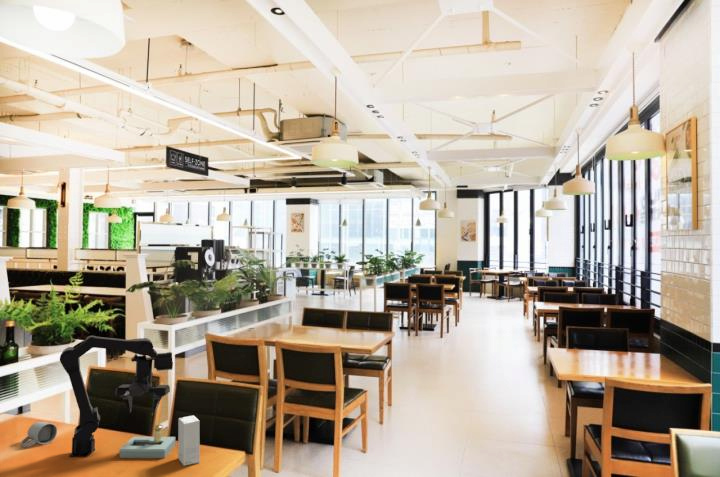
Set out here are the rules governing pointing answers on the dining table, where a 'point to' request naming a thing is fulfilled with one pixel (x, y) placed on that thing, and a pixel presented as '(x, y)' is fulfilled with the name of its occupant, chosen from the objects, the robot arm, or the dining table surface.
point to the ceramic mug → (40, 434)
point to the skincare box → (188, 440)
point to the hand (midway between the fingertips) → (142, 412)
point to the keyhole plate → (147, 447)
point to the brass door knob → (157, 434)
